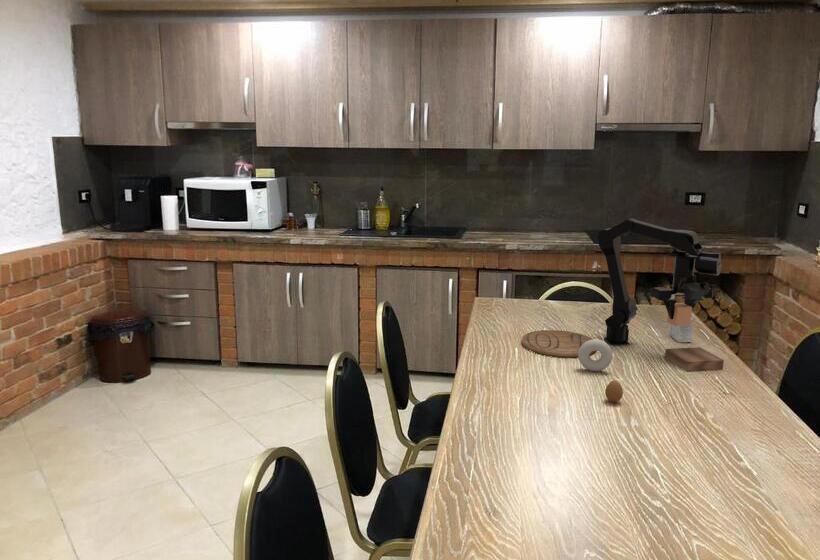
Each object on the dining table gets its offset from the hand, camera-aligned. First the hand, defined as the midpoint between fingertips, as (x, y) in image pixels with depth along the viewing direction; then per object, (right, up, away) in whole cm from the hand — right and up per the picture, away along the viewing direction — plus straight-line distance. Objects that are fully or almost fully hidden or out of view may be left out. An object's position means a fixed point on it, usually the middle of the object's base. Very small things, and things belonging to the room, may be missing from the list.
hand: (679, 318), depth 204 cm
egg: (-32, -20, -34) cm, 51 cm away
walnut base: (+2, -14, -5) cm, 15 cm away
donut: (-31, -15, -12) cm, 37 cm away
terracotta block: (0, -2, 0) cm, 2 cm away
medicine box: (+8, -9, +19) cm, 22 cm away
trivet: (-36, -10, +11) cm, 39 cm away
